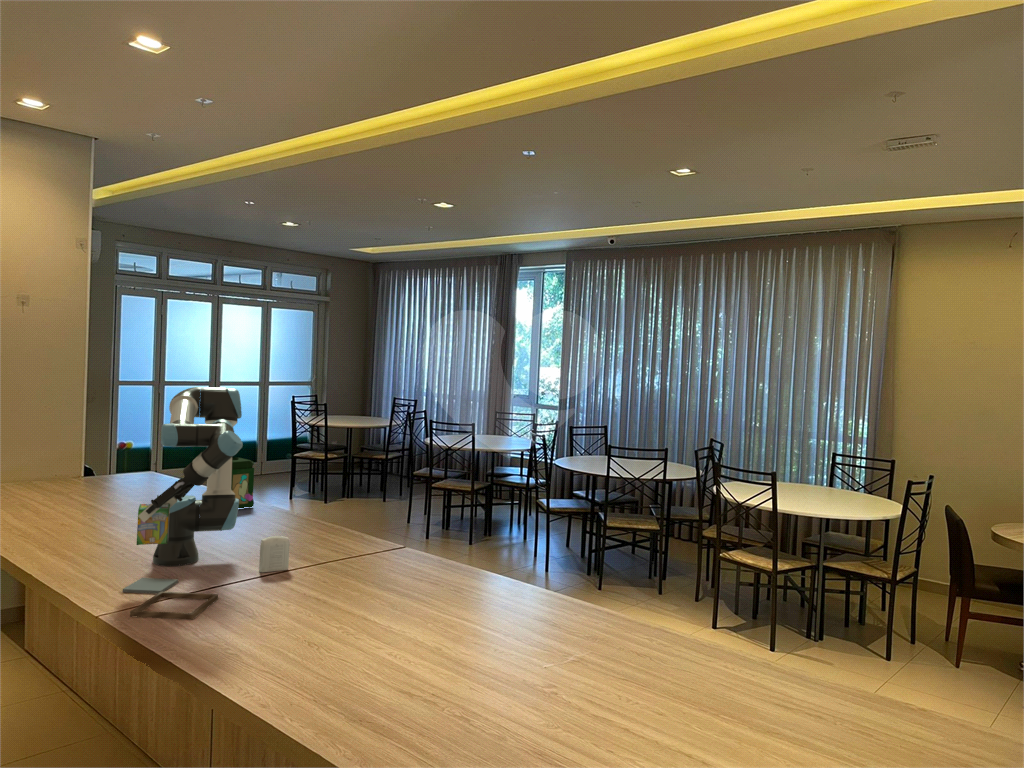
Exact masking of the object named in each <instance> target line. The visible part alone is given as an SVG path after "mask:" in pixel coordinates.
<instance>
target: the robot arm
mask: <svg viewBox="0 0 1024 768" xmlns="http://www.w3.org/2000/svg"><path fill="white" fill-rule="evenodd" d="M239 391H240V390H238V389H236V388H232V387H215V386H214V387H212V386H211V387H209V386H208V387H205V386H204V387H201V386H196V387H195V386H194V387H189V388H186V389H184V390H182V391H180V392H178V393H176V394H175V395H174V396H173V397H172V398H171V400H170V402H169V407H168V408H169V413H170V422H169V423H163V424H162V425H161V431H160V432H161V433H160V435H161V436H160V440H161V441H160V443H161V445H162V446H163V447H171V448H179V447H180V448H181V447H182V448H184V447H185V448H186V447H187V448H188V447H193V448H194V447H203V448H204V447H206V448H205V449H204V450H203V451H202V452H200V453H199V454H198V455H197V456H196V457H195V458H194V459H193V460H192V462H190V463H189V464H188V465H187V466H186V467H185V468H183V471H182V475H183V476H184V477H181V478H179V479H178V480H176V481H175V482H174V483H173V484H172V485H171V486H169V487H168V488H167V489H165V491H163V492H162V493H161V494H160V495H159V494H158V497H155V498H154V499H153V498H152V499H151V500H150V504H151V505H149V506H148V507H147V508H146V509H145V510H144V511H143V512H142V513H141V514H140V515H138V514H137V518H138V517H139V518H140V519H141V520H142V521H143V522H145V521H146V520H148V519H149V518H150V517H151V516H152V515H153V514H154V513H155V512H156V511H157V510H158V509H160V507H161V506H162V505H163V504H167V503H169V504H170V515H169V534H168V543H167V544H156V547H155V549H154V552H153V555H152V563H153V565H156V566H162V567H178V566H179V565H180V566H185V564H186V565H190V563H191V564H193V562H194V563H195V562H198V561H199V551H198V548H197V544H196V540H195V533H196V532H199V533H200V532H219V531H220V532H222V531H230V530H233V529H234V528H235V527H236V523H237V517H238V513H239V512H238V511H239V510H238V507H239V499H237V498H236V499H235V493H234V492H233V491H232V490H231V478H232V457H235V455H237V454H238V453H239V451H240V450H241V449H243V446H244V445H243V441H242V439H241V438H240V437H239V435H238V434H237V433H235V430H234V429H235V428H234V427H235V426H236V425H237V424H238V419H241V418H242V414H243V411H242V403H241V402H242V401H241V395H240V392H239ZM195 418H198V419H199V418H201V419H204V423H195ZM204 483H206V490H205V491H204V492H203V493H202V494H201V499H197V498H196V496H195V495H187V494H188V493H189V492H190V491H192V489H193V488H194V487H195V486H197V487H199V486H202V485H203V484H204Z"/></svg>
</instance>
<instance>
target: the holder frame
mask: <svg viewBox="0 0 1024 768" xmlns="http://www.w3.org/2000/svg"><path fill="white" fill-rule="evenodd" d="M162 598H166V599H167V598H168V599H169V598H170V599H184V600H185V599H186V600H187V599H189V600H190V599H191V600H206V601H204V602H203V603H201V604H200V605H199V606H198V607H196V608H195V609H194V610H193V611H191V612H179V611H178V612H176V611H175V612H174V611H155V610H152V611H151V610H147V609H148V608H149V607H150V606H152V605H153V604H155V603H156V602H158V601H160V600H161V599H162ZM207 599H208V600H207ZM218 599H219V594H218V593H201V592H183V591H182V592H181V591H180V592H179V591H164V592H159V593H158V594H154V596H152V597H150V598H149V599H147V600H145V601H144V602H142V603H141V604H139V605H138V606H136V607H135V608H134V609H131V610H130V613H129V616H137V617H136V618H147V617H152V618H151V619H174V620H175V619H176V620H192V621H193V620H194V619H195V618H197V616H200V614H202V613H203V612H204V611H205V610H206V609H208V608H209V607H210V606H211V605H212V604H214V603H216V601H218ZM213 602H214V603H213ZM208 606H209V607H208ZM207 607H208V608H207Z"/></svg>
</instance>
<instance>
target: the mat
mask: <svg viewBox="0 0 1024 768" xmlns="http://www.w3.org/2000/svg"><path fill="white" fill-rule="evenodd" d="M178 583H179V578H177V579H176V578H155V577H141V578H139V579H137V580H135V581H134V582H133V583H130V584H129V585H127V586H125V587H124V588H122V593H128V594H129V593H134V594H149V595H150V594H152V595H153V594H154V595H156V594H158V593H159V592H167V590H169V589H170V588H172V587H173V586H175V585H177V584H178Z"/></svg>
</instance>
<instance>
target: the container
mask: <svg viewBox="0 0 1024 768" xmlns="http://www.w3.org/2000/svg"><path fill="white" fill-rule="evenodd" d="M254 463H255V462H254V461H253V460H250V459H247V458H242V457H236V456H233V457H232V478H231V490H232V491H233V492H234V493H235V499H236V498H237V499H239V507H238V508H244V507H252V506H253V507H254V505H255V501H254V483H255V482H254V478H255V467H253V466H254Z"/></svg>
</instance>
